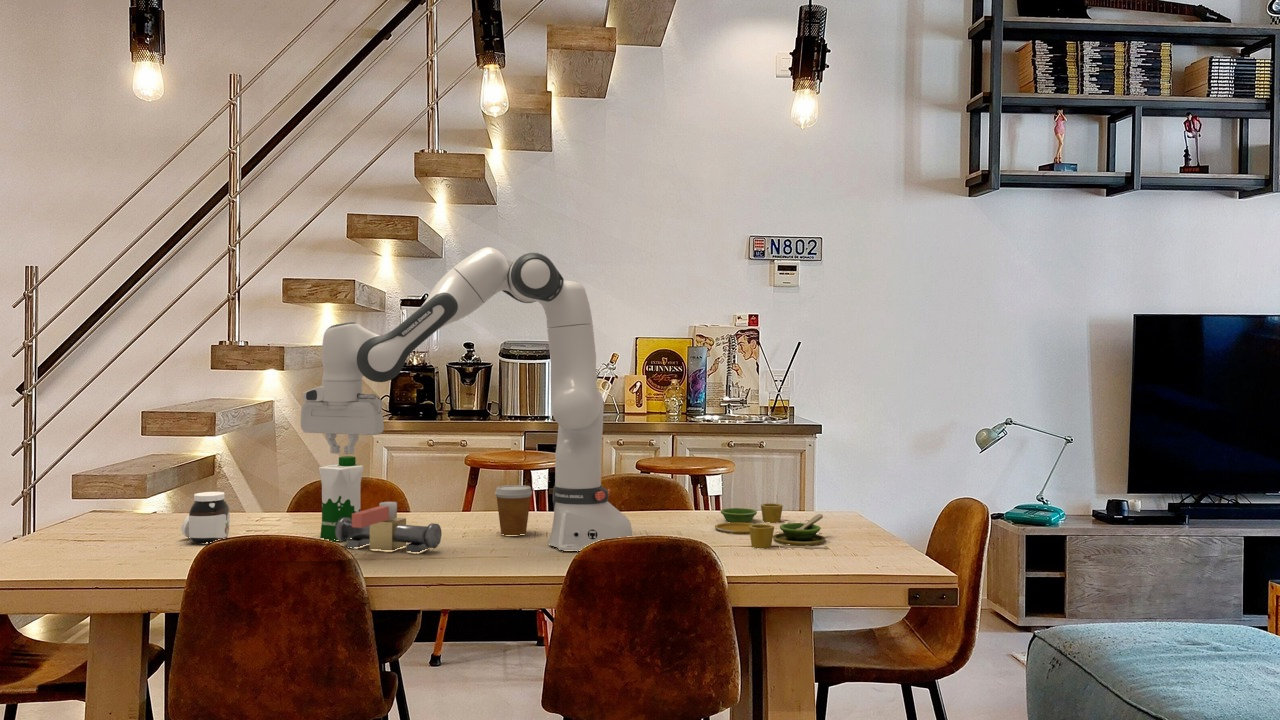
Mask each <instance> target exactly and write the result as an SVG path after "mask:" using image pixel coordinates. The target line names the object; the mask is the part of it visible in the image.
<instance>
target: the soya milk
mask: <svg viewBox="0 0 1280 720" xmlns="http://www.w3.org/2000/svg"><path fill="white" fill-rule="evenodd" d="M356 461H357V460H356V456H352V455H351V456H350V455H349V456H348V455H347V456H346V455H345V456H339V457H338V464H330V465H325V466H320V467H318V472H319V477H320V482H321V523H320V524H321V525H320V536H319V539H320V538H324V539H329V540H333V541H332V542H335V541H336V540H338V539H337V538H336V535H335V527H336V524H337V522H338V520H339V519H340V518H342V517H349V518H351V520H352V513H356V512H360V511H361V484H362V483H361V482H362V477H363V472H364V465H360V464H356ZM334 539H335V540H334ZM336 543H338V542H337V541H336Z"/></svg>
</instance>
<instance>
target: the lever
mask: <svg viewBox="0 0 1280 720" xmlns="http://www.w3.org/2000/svg"><path fill="white" fill-rule="evenodd" d="M397 516H398V501H397V502H396V501H384V502H383V501H382V502H379V506H375V507H370V508H367V509H364V510H360V512H356V513H352V527H357V528H362V527H366V526H369V525H372V524H376V523H379V522H382V521H385V520H389V519H395V518H398V517H397Z"/></svg>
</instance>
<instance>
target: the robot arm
mask: <svg viewBox="0 0 1280 720" xmlns="http://www.w3.org/2000/svg"><path fill="white" fill-rule="evenodd" d="M499 292H503V293H504V294H506V295H508V296H509V297H511V298H512V299H514V300H515V301H518V302H520V303H523V304H533V303H536V302H538V303H539V304H540V305H541V306H542V308H543V310H544V313H545V317H546V318H545V319H546V329H547V337H548V338H547V339H548V340H547V341H548V349H549V358H550V400H551V403H550V404H551V414H552V417H553V419H554V420H555V423H557V424H558V429H557V439H556V448H555V458H554V459H555V461H554V463H555V465H554V469H555V474H554V475H555V476H554V479H555V482H554V485H553V490H552V491H553V492H552V503H553V504H552V505H553V521H552V527H551V532H550V536H549V540H548V543H549V544H550V545H552V546H555V547H557V548H558V549H560V550H574V551H575V550H577V552H576V553H579V552H578V551H579V550H581V549H582V548H584V547H585V546H587V545H589V544H591V543H593V542H596V541H598V540H602V539H610V538H618V537H627V536H633V528H632V523H631V521H630V519H629V518H628V516H626V515H625V514H624V513H623V512H621V511H620V510H619V509H618V508H616V507H615V506H614V505H612V503H611V502H609V495H610V494H611V489H610V488H608V489H606V488H605V487H604V486H602V446H603V445H602V443H603V431H604V409H605V407H604V405H605V404H604V403H605V402H604V397H603V395H602V393H601V392H600V390H599V389H598V386H597V385H598V384H597V354H596V353H597V352H596V344H595V342H596V341H595V335H594V334H595V332H594V325H593V318H592V311H591V307H590V302H589V297H588V295H587V291H586V289H585V287H584V285H582V284H581V283H579V282H578V281H575V280H566V279H565V280H564V277H563V276H562V274H561V273H560V272H559V270H558V268H557V267H556V266H555V264H554V263H553V262H552V260H551V259H550V258H549V257H548V256H546V255H544V254H542V253H539V252H528V253H525V254H522V255H521V256H519V257H518V258H517V259H514V260H511V259H508V258H507V257H506V256H505V255H504V254H503V253H502V252H501V251H500V250H498V249H496V248H494V247H490V246H489V247H488V246H487V247H482V248H480V249H478V250H477V251H475V252H473V253H471V254H470V255H468V256H467V257H465V258H463V259H462V260H461V261H460V262H459V263H457V264H456V265H454V266H453V267H452V268H450V270H448V271H447V272H446V273H445V274H444V275H443V276H442V277H441V278H440V279H439V280H438V281H437V283H436V284H435V285H434V286H433V288H432V289H431V290H430V292H429V294H428V296H427V298H426V299H425V301H424V302H423V304H422V305H420V307H419V308H418V309H417V310H416V311H414V312H413V313H412V314H411V315H410V316H409V317H408V318H406V319H405V320H403V322H402V323H400V324H399V325H397V326H396V327H395V328H394V329H392V330H391V331H389V332H387V333H385V334H384V333H383V334H381V335H380V334H377V333H375V332H372V331H371V330H368V329H367V328H365V327H364V326H362V325H360V323H358V322H355V321H354V322H353V321H351V322H344V323H343V322H342V323H337V324H333V325H331V326H329V327H327V328H326V329H325V332H324V333H323V336H322V337H323V338H322V347H321V348H322V349H321V363H322V366H323V373H322V378H321V385H320V386H317V387H314V388H311V389H309V390H306V391H304V392H303V393H302V400H303V401H305V402H304V403H303V404H302V406H301V411H300V428H301V431H302V432H303V433H306V434H307V433H308V434H325V440H326V442H327V443H328V446H329V449H330V450H329V452H330V454H340V453H341V445H338V444H337V441H336V438H337V435H347V439H348V440H349V441H348V444H347V445H346V446H344V447H343V449H344V451H343V452H344V453H343V454H345V455H353V454H354V453H355V447H356V444H357V442H358V440H359V438H360V437H359V435H360V436H361V435H362V436H377V435H381V434H382V433H383V432H384V429H385V425H384V415H383V401H382V399H381V398H380V397H379V396H377V394H374V393H371V394H369V393H368V394H367V393H363V377H364V378H366V379H368V380H369V381H372V382H375V383H385V382H389V381H392V380H393V379H395V378H396V377H397V376H398V375H399V374H400V373H401V371H402V370H403V368H404V365H405V364H406V361H407V359H408V357H409V356H410V355H411V354H412V352H413V351H415V349H417V348H418V347H419V346H420V345H421V344H423V343H424V342H425V341H426V340H427V339H428V338H430V337H431V336H432V335H433V334H434V333H436V332H438V330H440V329H441V328H443V327H445V326H447V325H450V324H452V323H454V322H458V321H460V320H461V319H464V318H465V317H467V316H468V315H471V314H472V313H473V312H475V311H476V310H478V309H479V308H480V307H481V306H483V305H484V304H485V303H487V301H488V300H490V299H491V298H492V297H494V296H495V295H496V294H498V293H499ZM548 543H547V544H548ZM550 545H549V546H550ZM557 548H556V549H557ZM558 549H557V550H558Z"/></svg>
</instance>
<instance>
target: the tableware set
mask: <svg viewBox="0 0 1280 720" xmlns="http://www.w3.org/2000/svg"><path fill="white" fill-rule="evenodd" d="M783 507H784V506H783V504H781V503H773V502H772V503H770V502H769V503H767V502H766V503H762V504H760V509H761V515H762V522H763V521H764V522H763V523H762V524H760V523H759V524H757V523H751V522H752V521H753V519H754V517H755V516H756V515H757V514H758V511H757V510H755V509H751V508H742V507H732V508H731V507H729V508H724V509H723V508H722V509H721V510H720V513H721V515H723V517H724V519H725V521H726V522H723V523H718V524H716V525H714V528H715V530H717V531H718V532H720V531H721V532H720V533H723V532H725V533H724V534H729V533H733V534H732V535H749V536H750V537H749V538H750V544H751V548H753V547H754V548H753V549H757V548H768V549H771V548H770V547H772V543H773V540H775V542H776V541H777V542H776V543H778V542H779V543H778V544H781V543H783V544H782V545H779V546H780V548H805V549H804V550H814V549H827V550H829V549H828V547H827V546H816V545H815V544H818V545H821V544H822V543H824V542H825V541H826V538H825V536H822V534H823V533H822V532H819V531H821V530H822V529H821V526H819V525H817V524H816V523H817V522H818V521H820V520H822V519H823V517H824V516H823V514H822V513H818V514H816V515H814V516H813V517H812V518H811V519H806V520H805V523H804V522H803V523H802V522H800V523H795V522H791V523H790V522H789V523H787V524H783V523H781V524H780V525H779V529H780V530H781V531H775V526H774V525H772V524H777V523H776V522H779V523H780V522H781V520H782V513H783ZM783 520H784V521H789V520H788V519H783ZM784 521H783V522H784ZM806 521H808V522H807V523H806ZM729 522H730V523H729ZM749 522H750V523H749ZM766 522H770V523H769V524H764V523H766ZM770 524H771V525H770ZM774 531H775V532H776V533H779V534H776V533H775V534H774ZM816 533H819V534H816ZM820 543H821V544H820ZM786 544H790V545H786ZM794 545H812V546H794Z"/></svg>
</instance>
